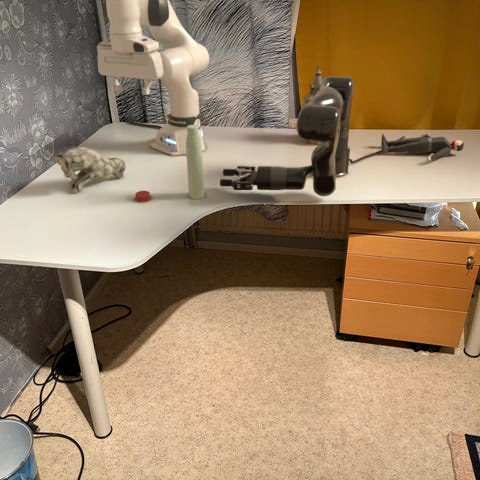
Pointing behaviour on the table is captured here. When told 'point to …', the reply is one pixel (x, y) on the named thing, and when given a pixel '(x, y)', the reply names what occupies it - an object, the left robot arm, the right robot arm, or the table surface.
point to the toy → (421, 145)
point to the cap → (142, 196)
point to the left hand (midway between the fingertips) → (132, 92)
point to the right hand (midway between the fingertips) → (221, 177)
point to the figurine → (88, 166)
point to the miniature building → (313, 92)
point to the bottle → (194, 162)
